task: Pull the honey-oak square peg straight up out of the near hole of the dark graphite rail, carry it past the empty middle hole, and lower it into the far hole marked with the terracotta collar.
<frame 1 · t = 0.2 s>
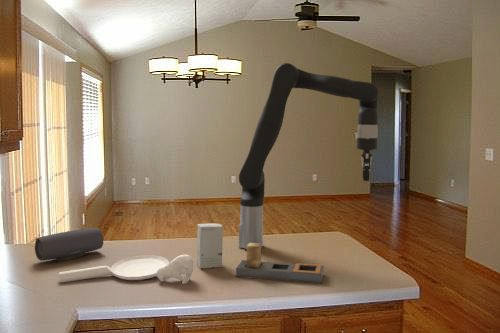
hand: (365, 179, 180), 29 cm above the counter, fingers open, 8 cm apart
bluetooth speaker: (70, 257, 177), on the counter
oak peg: (253, 273, 159), resting in graphite rail
skincare box: (209, 266, 167), on the counter
white animal figurine: (175, 282, 151), on the counter
frying pan: (116, 277, 156), on the counter
graphite rail: (280, 275, 157), on the counter
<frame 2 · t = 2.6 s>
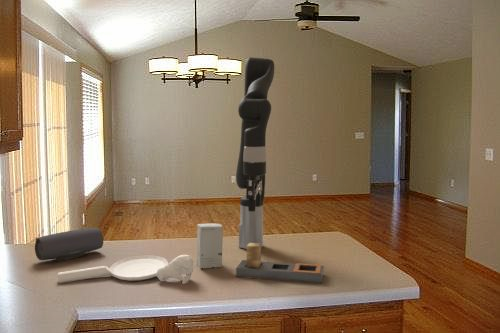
hand: (254, 208, 156), 22 cm above the counter, fingers open, 8 cm apart
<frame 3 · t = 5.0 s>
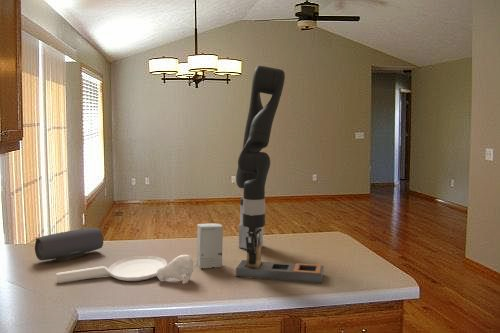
hand: (253, 261, 158), 4 cm above the counter, fingers closed on oak peg, 4 cm apart
oak peg: (253, 273, 159), resting in graphite rail, touching gripper
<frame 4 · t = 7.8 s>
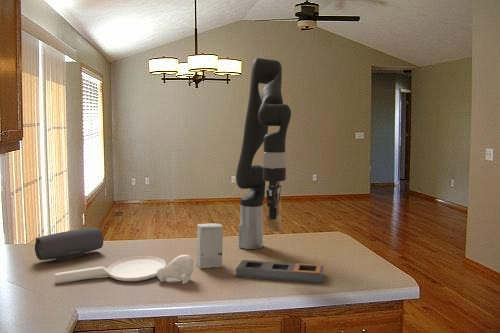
hand: (274, 217, 155), 20 cm above the counter, fingers closed on oak peg, 4 cm apart
oak peg: (274, 229, 155), point 15 cm above the counter, touching gripper
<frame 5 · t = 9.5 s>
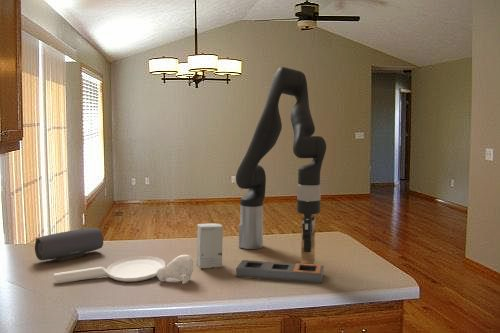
hand: (308, 249, 154), 9 cm above the counter, fingers closed on oak peg, 4 cm apart
oak peg: (308, 262, 154), point 5 cm above the counter, touching gripper
when the fingers open (5 cm above the counter, at t = 10.8 s): oak peg stays where it is, resting in graphite rail.
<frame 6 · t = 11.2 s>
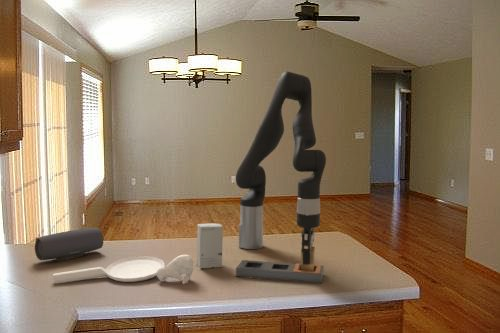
hand: (307, 260, 154), 6 cm above the counter, fingers open, 8 cm apart
oak peg: (307, 277, 155), resting in graphite rail
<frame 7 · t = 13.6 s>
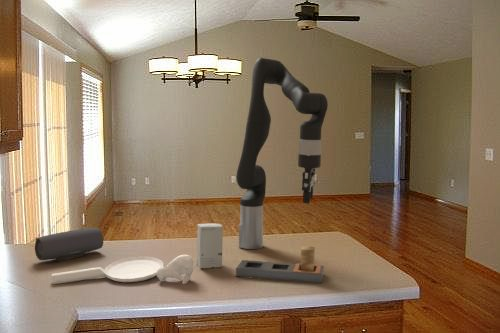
hand: (307, 200, 160), 24 cm above the counter, fingers open, 8 cm apart
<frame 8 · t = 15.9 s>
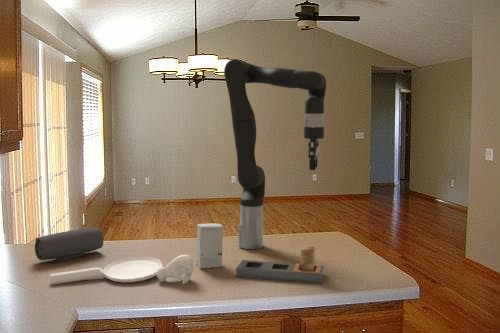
hand: (313, 168, 179), 33 cm above the counter, fingers open, 8 cm apart
at the end: oak peg 0.0 cm from the target spot on the graphite rail, point 0.0 cm above the graphite rail's base; oak peg tilted 0°; the gripper is holding nothing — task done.
